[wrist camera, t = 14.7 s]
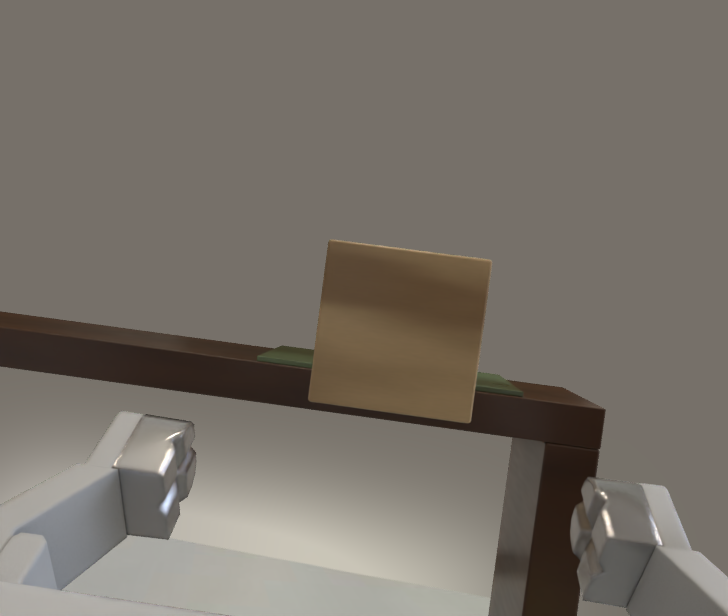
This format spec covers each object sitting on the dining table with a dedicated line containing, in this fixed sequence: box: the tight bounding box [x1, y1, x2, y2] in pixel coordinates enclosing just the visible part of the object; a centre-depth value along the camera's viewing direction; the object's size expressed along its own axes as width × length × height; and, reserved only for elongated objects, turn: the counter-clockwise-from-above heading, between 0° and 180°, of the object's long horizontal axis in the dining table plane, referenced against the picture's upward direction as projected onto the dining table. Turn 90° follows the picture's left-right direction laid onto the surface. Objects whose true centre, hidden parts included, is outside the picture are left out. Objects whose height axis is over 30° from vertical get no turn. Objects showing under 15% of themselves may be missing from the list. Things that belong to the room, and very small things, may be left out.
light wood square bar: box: [308, 240, 492, 423], centre depth 28 cm, size 23×4×4 cm, turn 178°
